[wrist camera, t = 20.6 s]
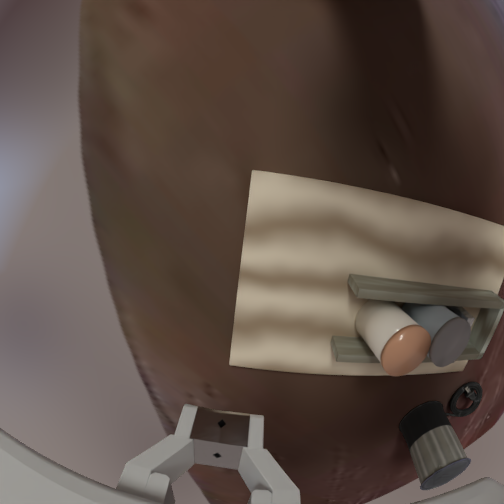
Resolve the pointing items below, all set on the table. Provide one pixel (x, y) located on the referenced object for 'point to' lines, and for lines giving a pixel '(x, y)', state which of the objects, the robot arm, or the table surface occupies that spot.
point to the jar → (392, 336)
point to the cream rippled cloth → (354, 273)
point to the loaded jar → (441, 331)
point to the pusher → (461, 313)
